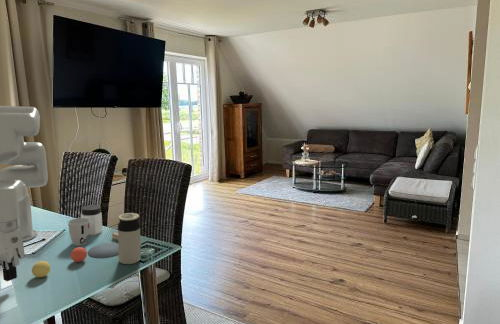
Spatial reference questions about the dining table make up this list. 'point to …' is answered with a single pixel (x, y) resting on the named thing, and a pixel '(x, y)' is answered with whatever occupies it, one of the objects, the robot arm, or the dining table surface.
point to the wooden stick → (115, 237)
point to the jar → (93, 218)
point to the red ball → (78, 254)
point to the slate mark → (104, 250)
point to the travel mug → (129, 238)
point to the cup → (79, 230)
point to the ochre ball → (41, 269)
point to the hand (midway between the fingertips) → (10, 278)
